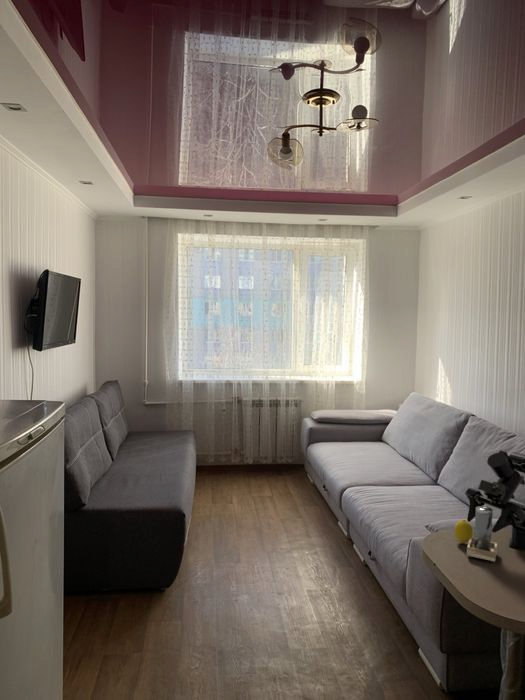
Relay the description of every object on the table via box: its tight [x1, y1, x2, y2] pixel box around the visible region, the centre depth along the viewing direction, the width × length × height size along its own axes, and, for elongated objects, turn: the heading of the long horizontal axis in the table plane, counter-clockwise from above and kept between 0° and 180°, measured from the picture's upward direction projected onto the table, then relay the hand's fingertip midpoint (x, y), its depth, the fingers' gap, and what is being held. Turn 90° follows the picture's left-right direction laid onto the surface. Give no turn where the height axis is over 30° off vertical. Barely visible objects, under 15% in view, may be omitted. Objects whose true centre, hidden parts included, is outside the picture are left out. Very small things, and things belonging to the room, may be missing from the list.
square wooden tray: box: [466, 537, 498, 564], centre depth 163 cm, size 8×8×4 cm
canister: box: [474, 505, 494, 552], centre depth 162 cm, size 5×5×13 cm
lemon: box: [454, 519, 474, 545], centre depth 171 cm, size 6×6×8 cm
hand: (480, 526), depth 161 cm, fingers open, 9 cm apart
